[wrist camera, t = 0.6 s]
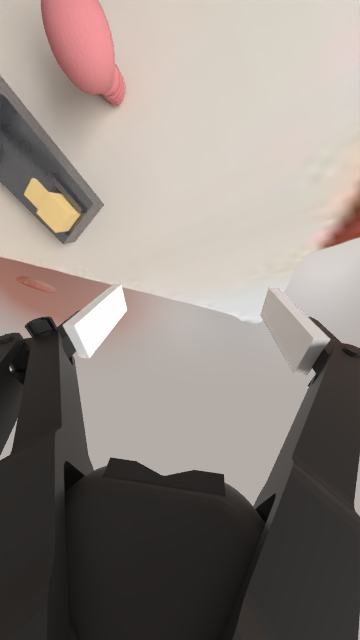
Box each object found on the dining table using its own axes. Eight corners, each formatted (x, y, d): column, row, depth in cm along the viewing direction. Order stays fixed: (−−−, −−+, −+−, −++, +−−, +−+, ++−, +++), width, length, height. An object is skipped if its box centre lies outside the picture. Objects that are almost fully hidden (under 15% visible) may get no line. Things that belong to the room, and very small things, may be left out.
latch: (37, 198, 32) (20, 197, 29) (49, 178, 30) (32, 173, 27) (68, 231, 34) (55, 232, 31) (80, 214, 32) (68, 213, 29)
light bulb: (83, 64, 25) (3, -39, 15) (124, 38, 23) (65, -97, 13) (106, 130, 28) (53, 83, 18) (142, 112, 27) (107, 50, 17)
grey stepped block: (-58, 103, 29) (-124, 74, 23) (-43, 21, 24) (-123, -41, 18) (74, 241, 39) (52, 246, 34) (104, 204, 34) (84, 202, 29)
